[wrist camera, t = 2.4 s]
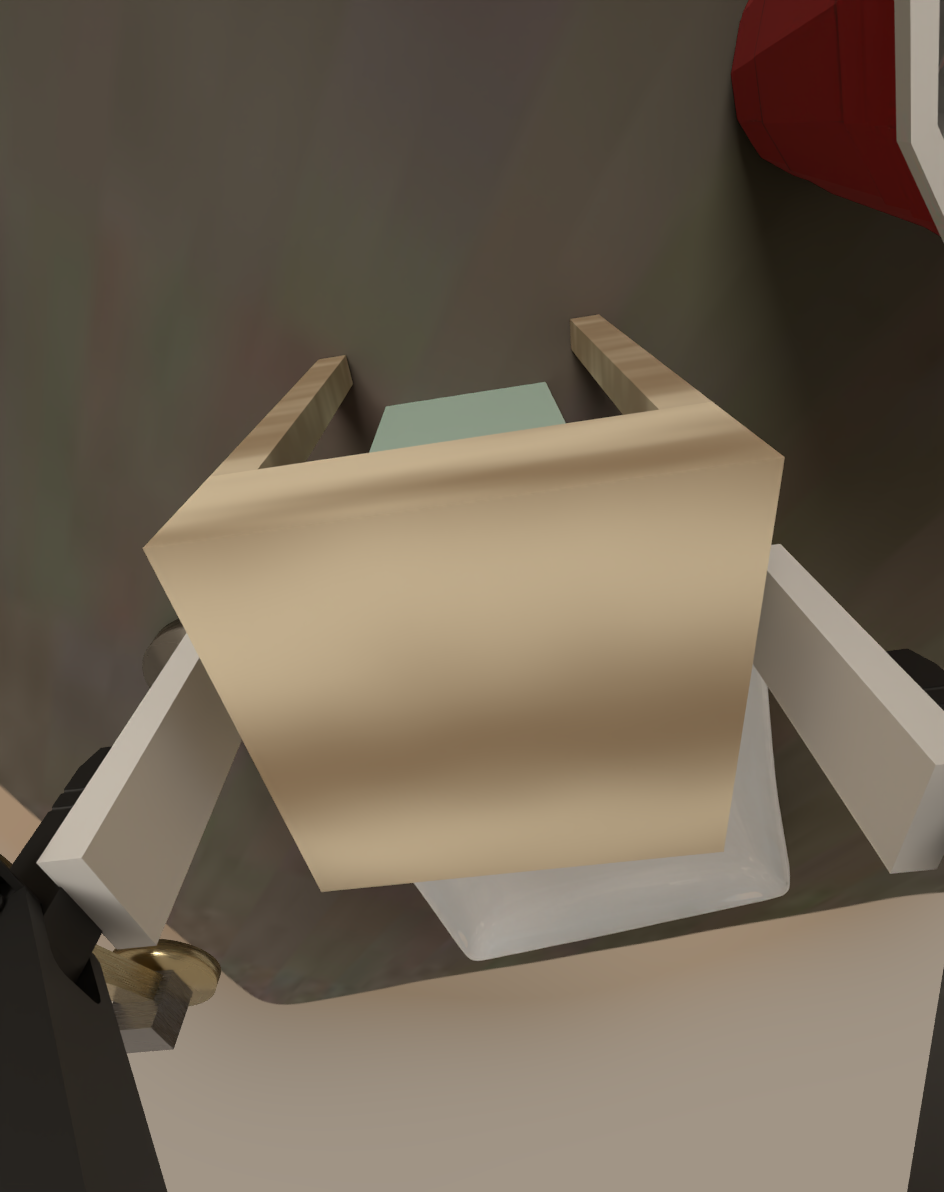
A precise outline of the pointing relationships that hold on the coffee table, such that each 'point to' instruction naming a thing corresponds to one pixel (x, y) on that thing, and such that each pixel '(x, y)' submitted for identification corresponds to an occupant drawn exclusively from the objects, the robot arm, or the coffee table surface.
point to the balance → (156, 973)
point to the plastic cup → (849, 98)
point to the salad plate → (632, 873)
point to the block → (466, 416)
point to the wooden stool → (487, 627)
